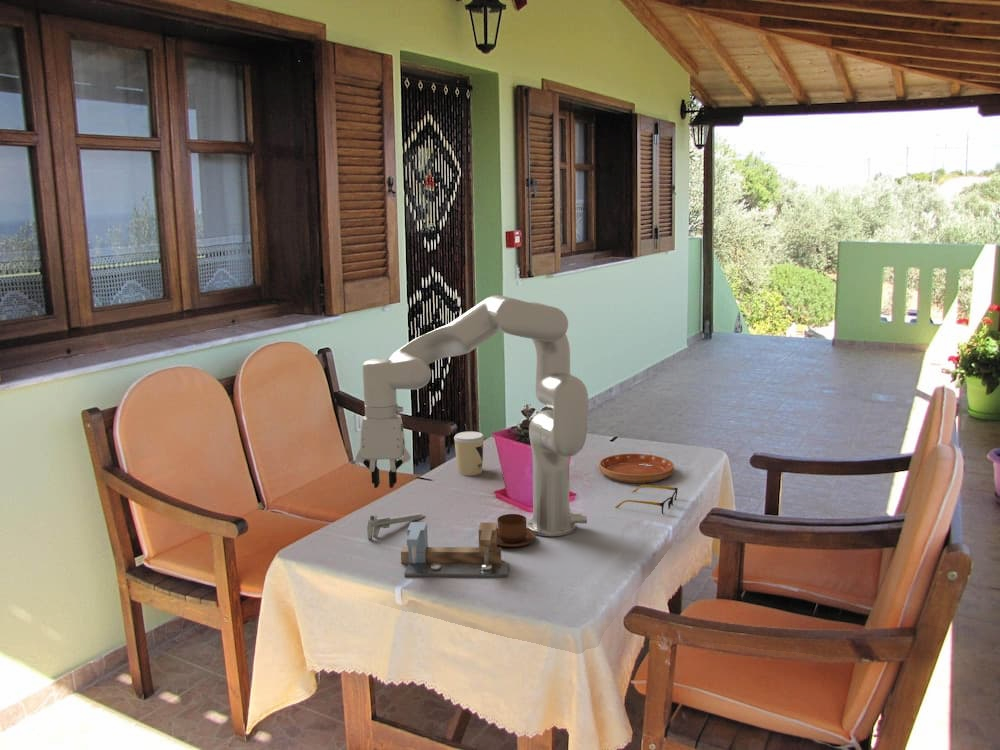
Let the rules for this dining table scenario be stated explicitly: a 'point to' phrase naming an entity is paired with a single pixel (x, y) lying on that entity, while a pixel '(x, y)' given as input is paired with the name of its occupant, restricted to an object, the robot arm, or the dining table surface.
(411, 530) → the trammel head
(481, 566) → the bolt plate
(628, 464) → the saucer
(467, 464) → the coffee cup
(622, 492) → the dining table surface
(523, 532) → the cup and saucer
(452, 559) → the beam
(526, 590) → the dining table surface
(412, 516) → the caliper
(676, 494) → the eyeglasses
